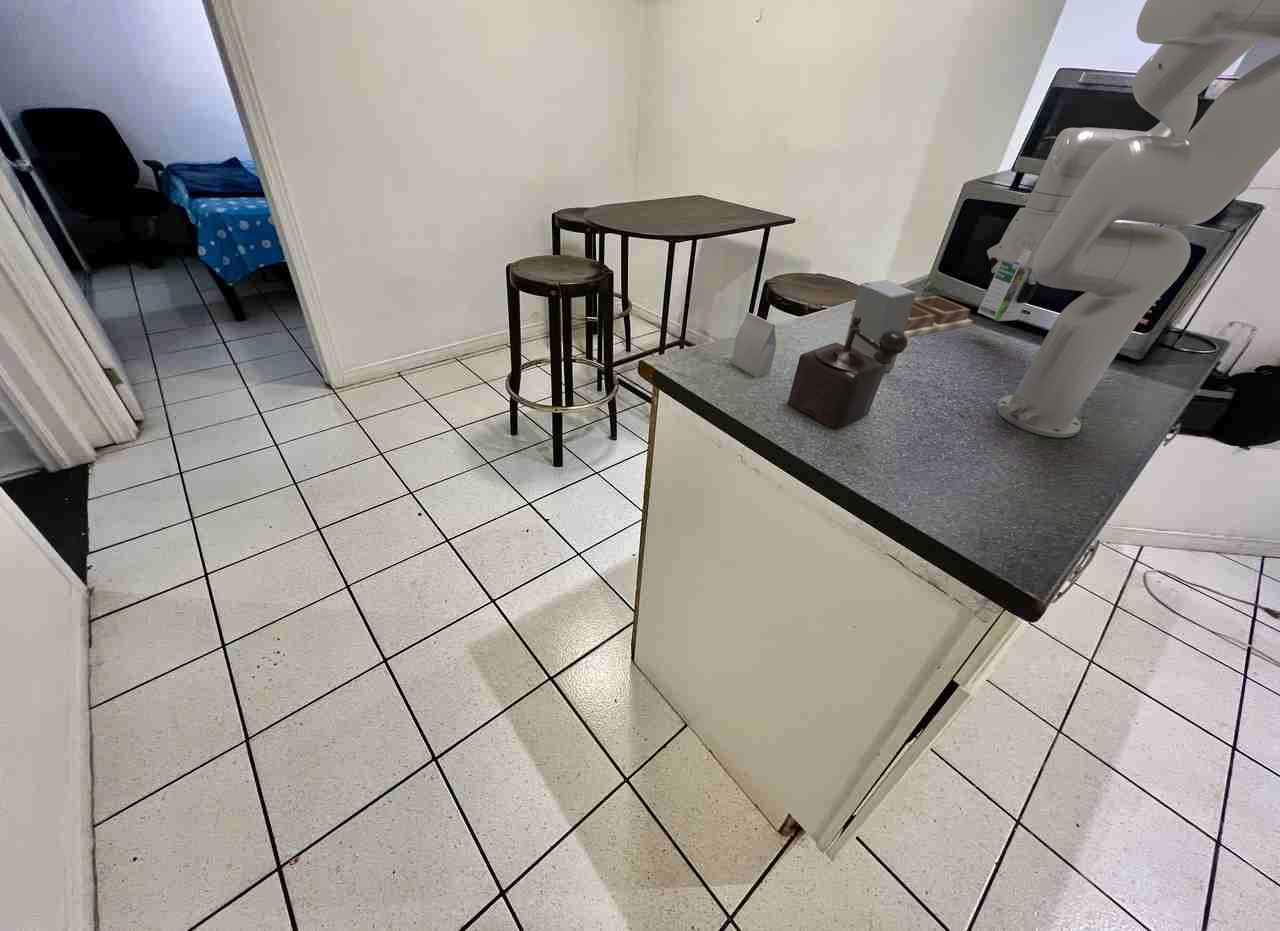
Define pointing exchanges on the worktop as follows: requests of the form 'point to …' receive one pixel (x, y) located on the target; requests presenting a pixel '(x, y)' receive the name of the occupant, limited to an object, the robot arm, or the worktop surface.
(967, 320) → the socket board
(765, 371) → the white paper bag
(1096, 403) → the worktop surface
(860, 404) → the manual coffee grinder
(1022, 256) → the syrup box
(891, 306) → the skincare box
